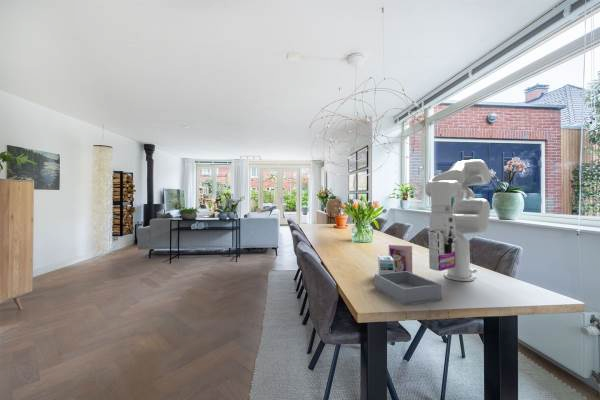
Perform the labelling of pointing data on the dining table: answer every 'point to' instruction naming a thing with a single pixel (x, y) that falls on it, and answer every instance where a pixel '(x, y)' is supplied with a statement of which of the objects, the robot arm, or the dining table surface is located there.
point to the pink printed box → (401, 257)
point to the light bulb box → (386, 264)
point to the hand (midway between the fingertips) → (441, 251)
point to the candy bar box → (439, 252)
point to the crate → (408, 287)
